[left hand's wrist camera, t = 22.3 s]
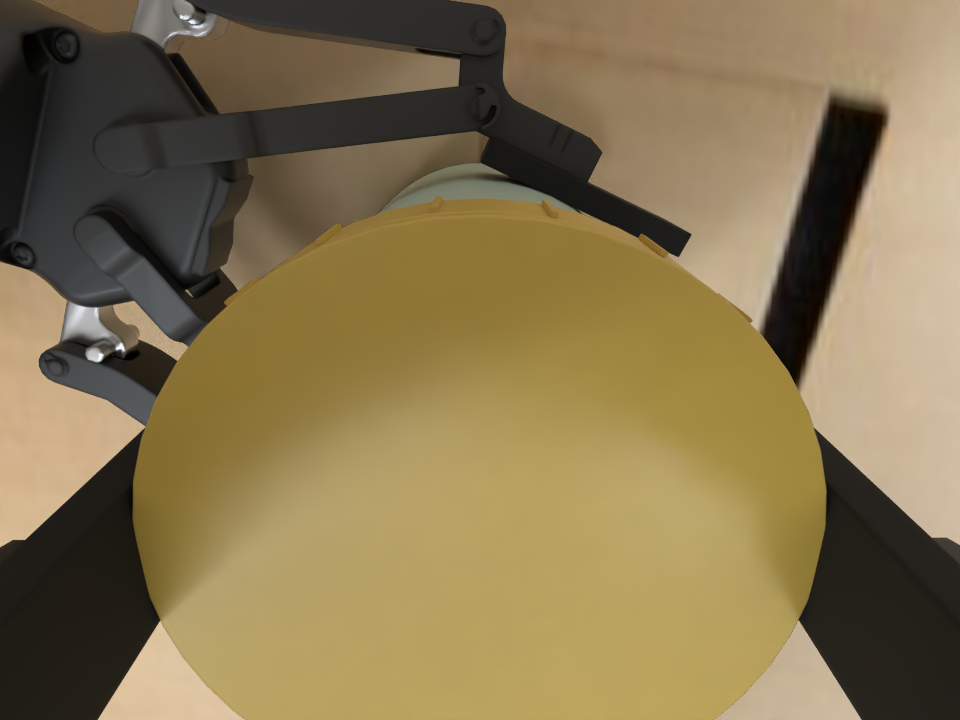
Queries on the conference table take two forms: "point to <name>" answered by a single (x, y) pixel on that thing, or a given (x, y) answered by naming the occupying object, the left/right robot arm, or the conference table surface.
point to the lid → (479, 480)
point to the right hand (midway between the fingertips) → (591, 382)
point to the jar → (469, 188)
